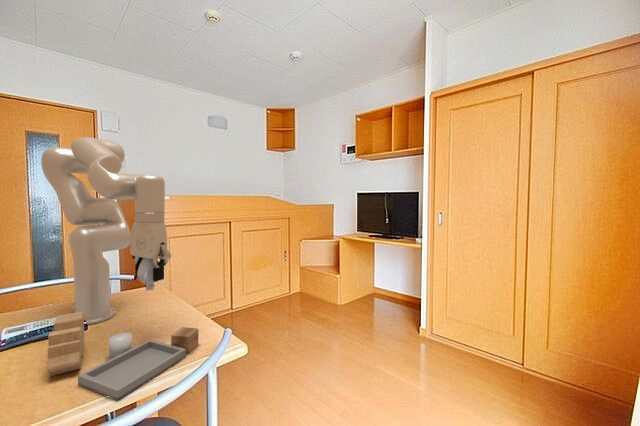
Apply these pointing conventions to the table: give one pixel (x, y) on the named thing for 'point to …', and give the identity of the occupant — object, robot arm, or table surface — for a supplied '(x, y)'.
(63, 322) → the stepped wooden block
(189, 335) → the walnut cube
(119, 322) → the table surface
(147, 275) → the toy figure
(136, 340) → the table surface
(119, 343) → the pale grey egg shape
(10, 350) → the table surface
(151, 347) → the tray
